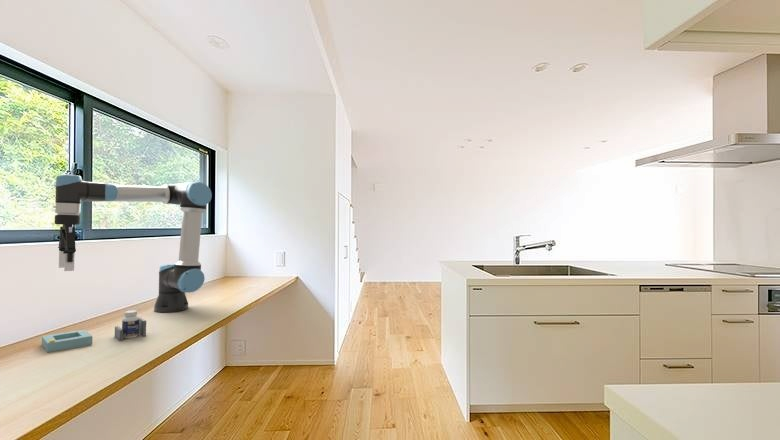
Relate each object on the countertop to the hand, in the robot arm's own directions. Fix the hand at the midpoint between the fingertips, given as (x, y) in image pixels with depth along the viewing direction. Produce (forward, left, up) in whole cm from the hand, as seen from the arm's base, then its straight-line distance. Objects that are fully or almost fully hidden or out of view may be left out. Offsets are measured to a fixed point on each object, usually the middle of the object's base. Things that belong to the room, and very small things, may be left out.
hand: (66, 269), depth 145 cm
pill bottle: (-17, +20, -26) cm, 36 cm away
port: (+1, +15, -26) cm, 29 cm away
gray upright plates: (-17, +20, -26) cm, 36 cm away
